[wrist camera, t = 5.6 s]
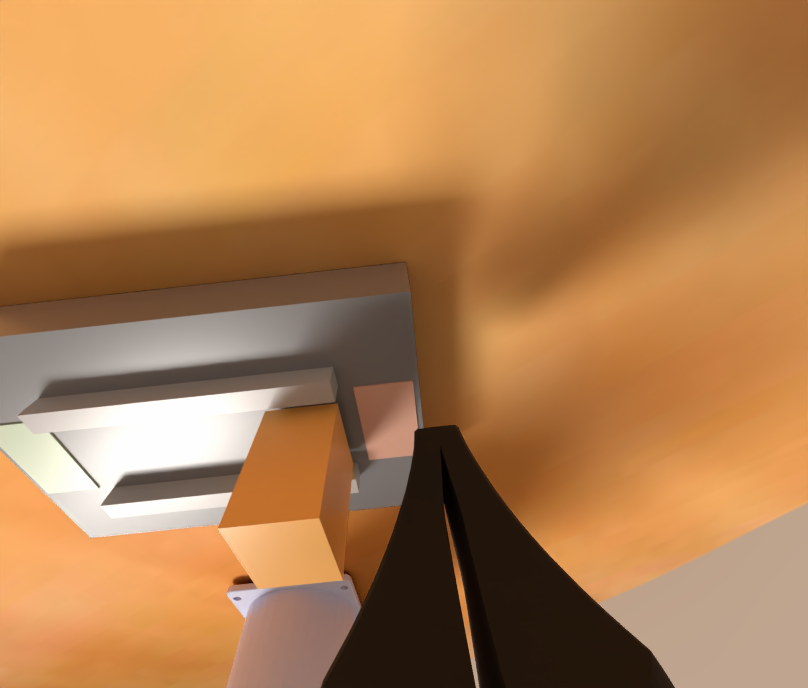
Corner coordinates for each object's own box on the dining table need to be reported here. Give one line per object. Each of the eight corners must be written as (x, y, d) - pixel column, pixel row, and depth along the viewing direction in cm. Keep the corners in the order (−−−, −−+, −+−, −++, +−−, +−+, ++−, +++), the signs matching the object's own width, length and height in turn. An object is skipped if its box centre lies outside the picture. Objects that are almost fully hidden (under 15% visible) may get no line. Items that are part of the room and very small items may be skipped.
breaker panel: (424, 456, 18) (432, 520, 15) (125, 488, 18) (77, 556, 15) (405, 262, 12) (412, 303, 9) (-22, 308, 12) (-140, 363, 10)
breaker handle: (353, 463, 13) (343, 580, 10) (289, 470, 13) (257, 589, 10) (337, 403, 12) (319, 518, 8) (265, 410, 12) (217, 528, 8)
